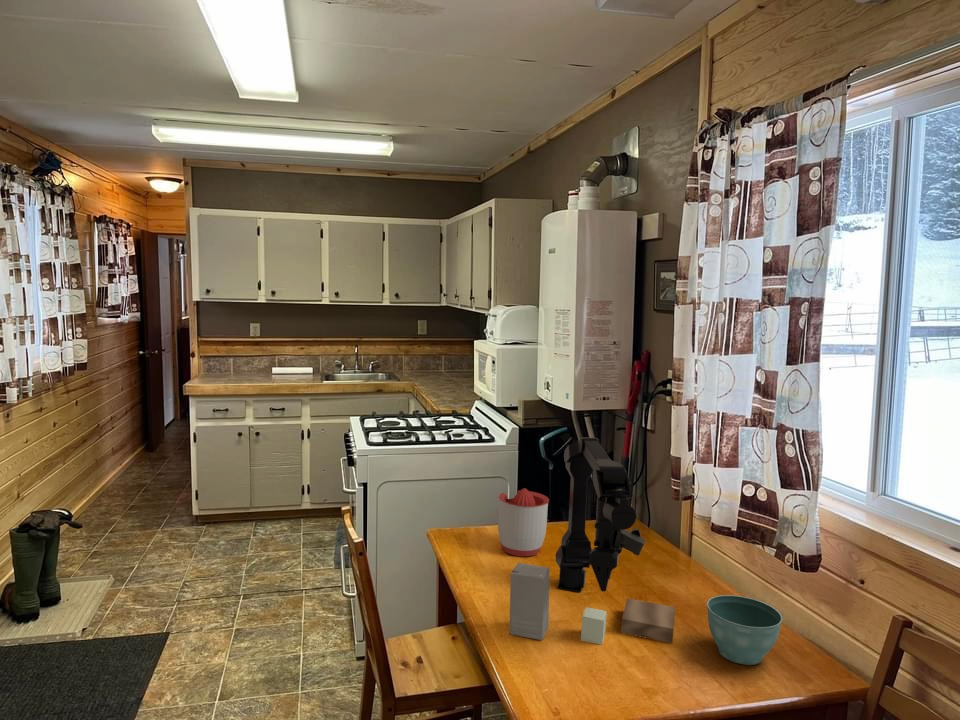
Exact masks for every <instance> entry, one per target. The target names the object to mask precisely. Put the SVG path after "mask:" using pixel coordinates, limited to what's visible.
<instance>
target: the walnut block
mask: <svg viewBox="0 0 960 720" xmlns="http://www.w3.org/2000/svg"><path fill="white" fill-rule="evenodd" d="M675 615H676V607H675V606H671V605H664V604H658V603H654V602H648V601H644V600H639V599H633V598H626V601H625V605H624V609H623V614H622V618H621V627H620V628H621V629H620V634H623V633H625V634H624V635H628V634H631V635H630V636H633V635H637V636H636V637H638V636H641V637H640V638H643V637H646V638H645V639H648V638H651V639H650V640H653V639H655V640H654V641H657V640H659V641H658V642H662V641H663V643H667V642H668V644H673V639H674V631H675V619H676V618H675Z"/></svg>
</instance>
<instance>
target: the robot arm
mask: <svg viewBox="0 0 960 720" xmlns="http://www.w3.org/2000/svg"><path fill="white" fill-rule="evenodd" d="M563 460H564V463H565V464H564V465H565V469H566V470H567V472H568V474H569V476H570V484H569V486H570V487H569V506H568V507H569V508H568V522H567V523H568V525H567V526H568V527H567V530H566V531H565V533H564V534H563V536H562V538H561V543H560V546H559V547H558V549H557V551H556V552H555V562H556V564H557V566H558V568H559V577H558V584H557V586H556V587H557V589H559V590H564V591H565V590H566V591H571V592H574V593H575V592H576V593H581V592H582V590H583V589H584V587H585V585H586V576H587V574H586V573H587V570H586V568H587V569H590V567H591V569H592V571H593V573H594V575H595V578H596V581H597V584H598V586H599V589H600V591H601V592H606V591H607V587H608V584H609V580H610V579H611V574H612V571H613V570H614V569H616V568H617V567H618V564H619V555H620V554H621V553H622V551H623V549H625V550H627V551H629V552H631V553H632V554H634V555H635V556H640V554H641V552H642V550H643V548H644V546H645V542H646V539H645V537H643V536H642V535H641V533H642V532H641V530H640V529H638V528H635V527H634V528H633V529H632V530H628V529H630V528H632V526H634V524H635V523H636V520H637V513H636V510H635V509H634V507H632V506H631V505H630V504H629V499H632V498H633V495H632V493H633V487H632V483H631V480H630V477H629V475H628V471H627V470H626V469H625V467H624V466H623V465H622V464H621V463H619V462H618V461H614V460H612V459H611V458H610V456H609V455H608V453H607V452H606V451H605V449H604V447H602V445H601V441H600V438H598V437H587V436H586V437H585V436H584V437H580V438H579V439H578V440H577V441H574V442H572V443H570V444H567V447H566V448H565V450H564V453H563ZM591 476H592V482H593V483H592V484H593V486H594V487H593V488H594V490H595V493H596V496H597V497H596V509H595V510H596V512H595V515H596V517H595V522H594V529H595V535H594V537H595V539H594V541H593V546H594V548H592V543H591V541H590V539H589V538H588V536H587V534H586V522H587V521H586V518H587V504H588V503H587V501H588V500H587V499H588V483H589V482H588V480H589V478H590V477H591Z"/></svg>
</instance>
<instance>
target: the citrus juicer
mask: <svg viewBox="0 0 960 720" xmlns="http://www.w3.org/2000/svg"><path fill="white" fill-rule="evenodd" d="M498 499H499V504H498V505H499V506H498V518H497V519H498V520H497V521H498V522H497V529H498V537H499V543H500V546H501V550H503V552H505V553H506V554H509V555H512V556H515V557H518V558H519V557H532V556H535V555H538V554H539V553H540V551H541V550H542V547H543V543H544V541H545V537H546V534H547V533H546V531H547V525H548V523H547V522H548V509H549V508H548V507H549V502H550V499H549V497H548V496H546V495H544V494H542V493H539V492H534V491H530V490H529V489H527V488H525V487H524V488H522V489H520V490H517V493H516V494H515V495H514V497H513V498H508V495H507V493H504V492H502V493H500V494H499V496H498Z"/></svg>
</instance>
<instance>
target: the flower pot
mask: <svg viewBox="0 0 960 720" xmlns="http://www.w3.org/2000/svg"><path fill="white" fill-rule="evenodd" d="M706 608H707V621H708V627H709V631H710V633H711V636H712V638H713V640H714V642H715V644H716V646H717V648H718V649H717V650H718V653H719V654H720V656H722V657H723V658H724V659H726V660H727V661H730V662H733V663H736V664H740V665H745V666H752V665H758V664H760V663H762V661H763V658H764V657H765V656H766V655H767V654H768V653H769V652H770V651H771V650H772V648H773V647H774V646H775V644H776V642H777V640H778V637H779V634H780V630H781V626H782V623H783V616H782V614H781V613H780V612H779V611H778V610H777V608H775V607H773V606H772V605H770V604H769V603H766V602H763V601H760V600H758V599H756V598H750V597H745V596H740V595H735V594H733V595H729V594H728V595H727V594H726V595H725V594H723V595H716V596H713V597H711V598H709V600H708V601H707V603H706Z"/></svg>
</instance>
